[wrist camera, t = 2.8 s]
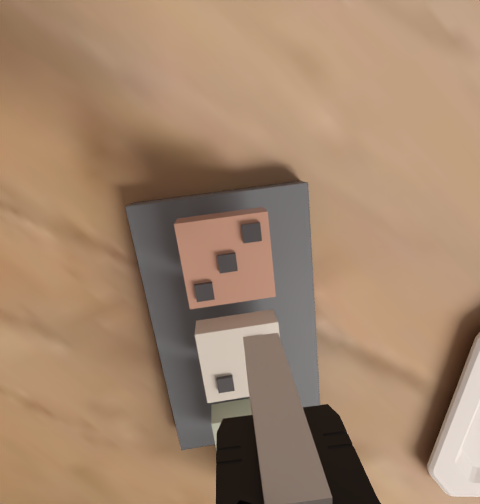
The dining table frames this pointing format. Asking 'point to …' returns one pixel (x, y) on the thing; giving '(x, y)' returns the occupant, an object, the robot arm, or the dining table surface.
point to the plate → (460, 435)
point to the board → (184, 319)
